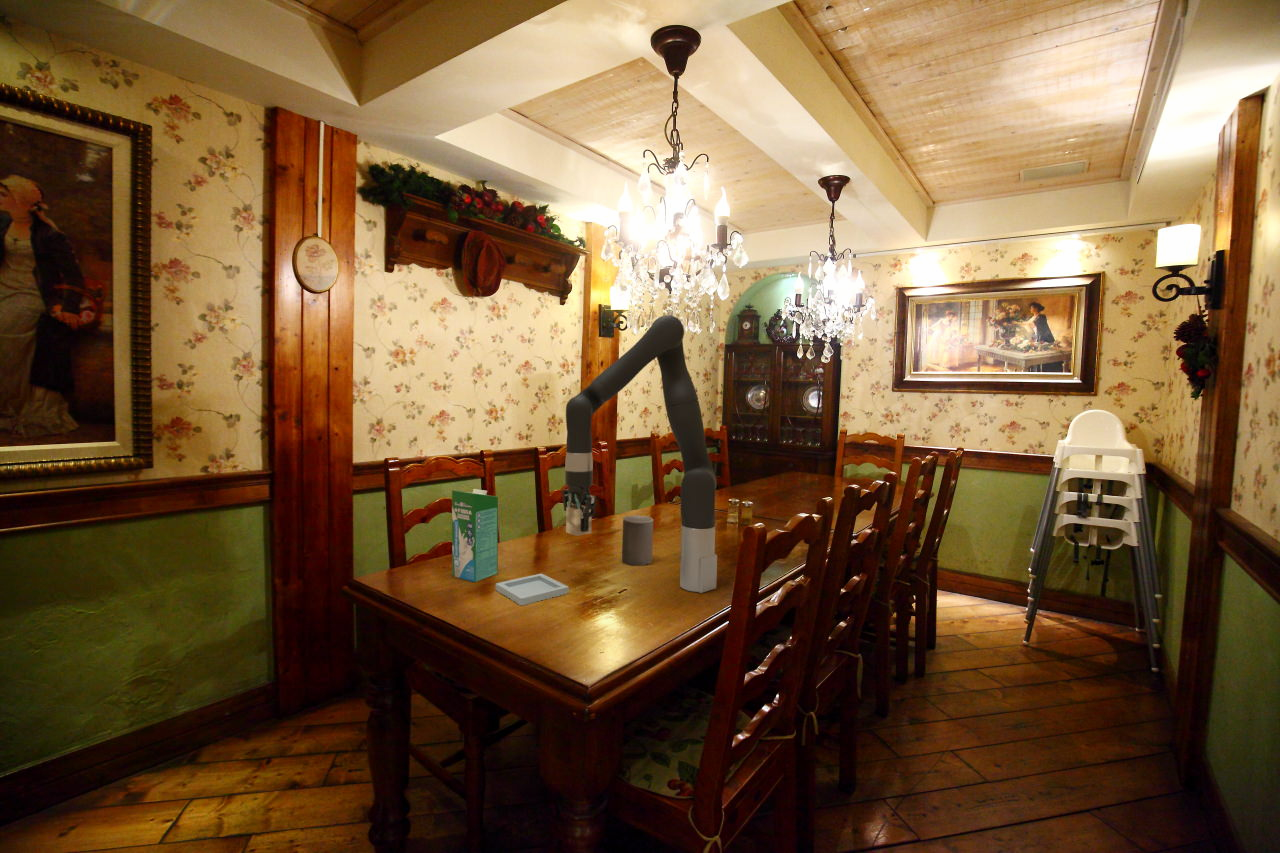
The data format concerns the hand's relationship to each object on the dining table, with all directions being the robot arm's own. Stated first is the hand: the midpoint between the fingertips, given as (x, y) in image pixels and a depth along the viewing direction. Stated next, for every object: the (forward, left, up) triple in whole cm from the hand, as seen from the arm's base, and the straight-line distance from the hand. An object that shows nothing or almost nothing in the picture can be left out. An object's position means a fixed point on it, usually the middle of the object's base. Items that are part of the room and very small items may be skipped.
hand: (578, 529), depth 159 cm
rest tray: (+2, +14, -15) cm, 20 cm away
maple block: (0, 0, -1) cm, 1 cm away
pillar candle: (+6, -26, -16) cm, 31 cm away
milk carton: (+24, +20, -16) cm, 35 cm away
